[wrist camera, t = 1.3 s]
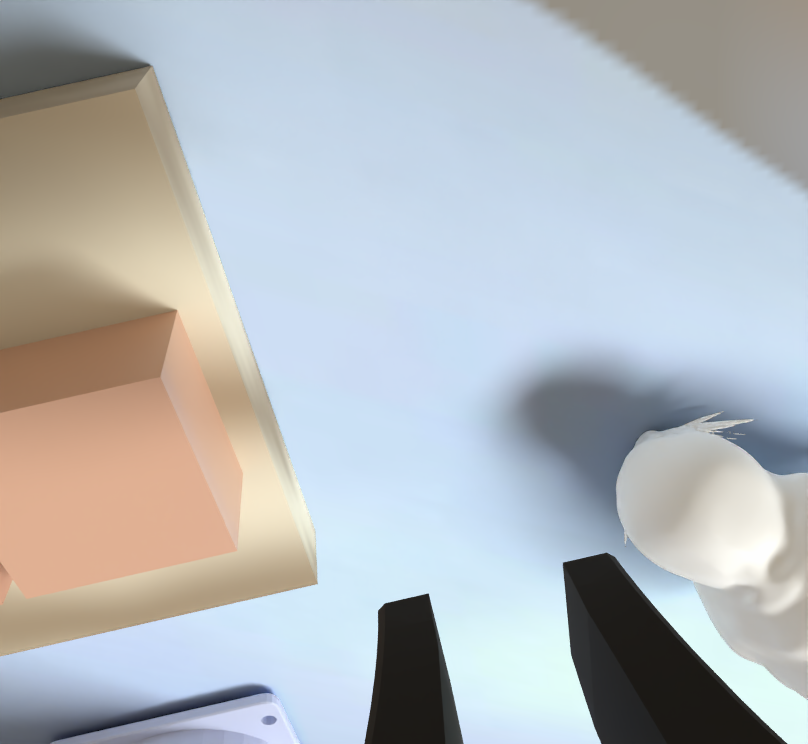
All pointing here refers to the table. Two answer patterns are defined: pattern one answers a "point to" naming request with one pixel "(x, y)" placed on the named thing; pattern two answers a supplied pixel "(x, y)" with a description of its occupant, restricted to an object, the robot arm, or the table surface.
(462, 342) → the table surface
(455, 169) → the table surface
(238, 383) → the thin cream square panel
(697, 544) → the white figurine
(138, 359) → the tile
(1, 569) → the tile
